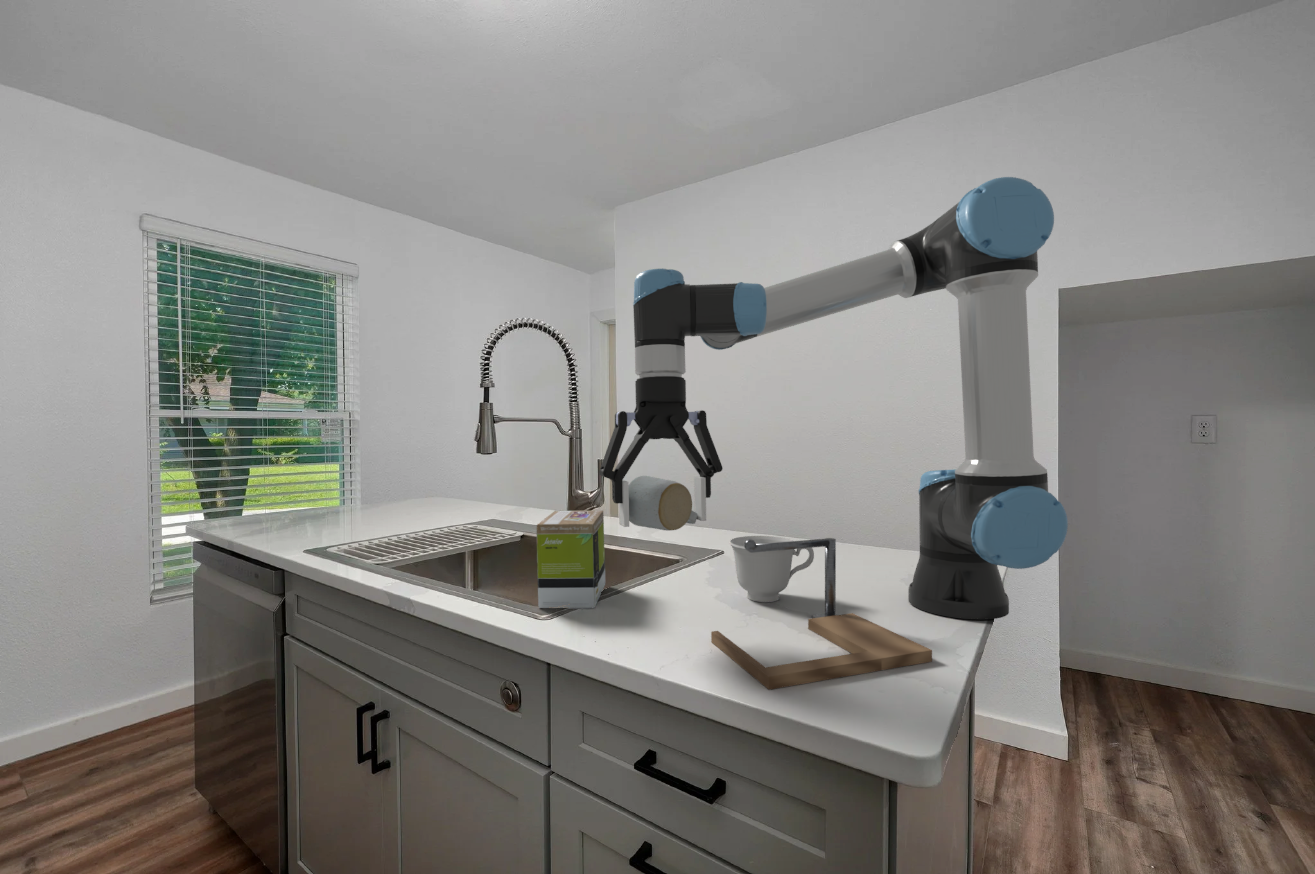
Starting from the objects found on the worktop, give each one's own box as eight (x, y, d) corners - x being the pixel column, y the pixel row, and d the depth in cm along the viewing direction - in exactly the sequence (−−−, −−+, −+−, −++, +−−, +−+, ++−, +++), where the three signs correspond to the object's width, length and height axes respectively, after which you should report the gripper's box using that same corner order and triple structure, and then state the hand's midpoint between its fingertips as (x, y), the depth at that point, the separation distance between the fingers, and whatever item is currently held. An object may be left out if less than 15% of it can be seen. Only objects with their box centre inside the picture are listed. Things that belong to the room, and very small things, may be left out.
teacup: (820, 609, 98) (820, 549, 98) (730, 607, 99) (730, 548, 99) (808, 589, 110) (808, 536, 110) (728, 587, 111) (728, 535, 111)
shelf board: (852, 622, 91) (852, 613, 91) (931, 661, 76) (932, 650, 76) (711, 642, 83) (711, 631, 83) (768, 689, 68) (768, 676, 68)
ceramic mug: (661, 535, 81) (661, 479, 81) (622, 528, 87) (622, 476, 87) (710, 526, 89) (710, 475, 89) (671, 521, 95) (671, 473, 95)
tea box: (554, 585, 113) (554, 509, 113) (606, 585, 113) (605, 509, 113) (536, 609, 98) (535, 521, 98) (595, 609, 98) (595, 522, 98)
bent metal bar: (833, 616, 94) (833, 530, 94) (849, 624, 90) (849, 534, 90) (738, 629, 88) (738, 537, 88) (751, 637, 85) (751, 542, 84)
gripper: (721, 379, 95) (724, 513, 95) (576, 378, 87) (579, 524, 87) (743, 375, 88) (746, 520, 88) (587, 373, 80) (590, 532, 80)
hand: (663, 522), depth 88 cm, fingers closed on ceramic mug, 11 cm apart
